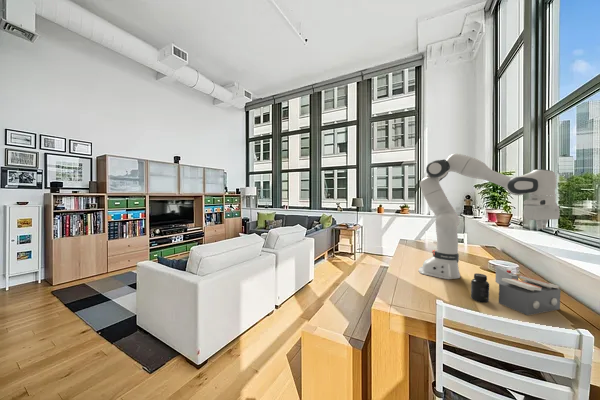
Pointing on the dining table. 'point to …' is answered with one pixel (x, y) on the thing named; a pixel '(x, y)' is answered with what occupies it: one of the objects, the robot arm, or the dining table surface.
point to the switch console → (529, 298)
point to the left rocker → (522, 284)
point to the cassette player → (504, 274)
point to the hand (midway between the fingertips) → (541, 228)
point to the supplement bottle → (480, 288)
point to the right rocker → (539, 282)
